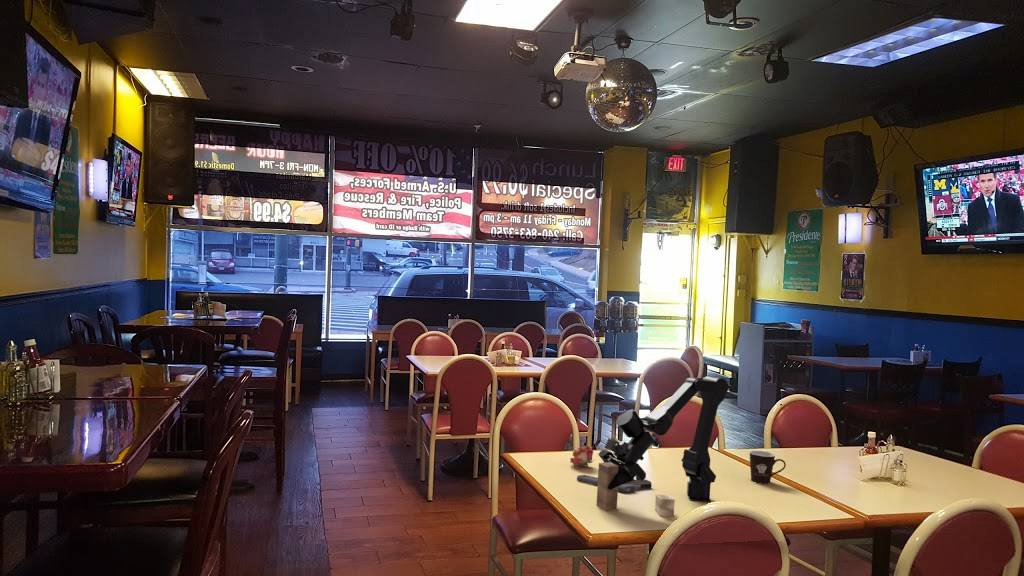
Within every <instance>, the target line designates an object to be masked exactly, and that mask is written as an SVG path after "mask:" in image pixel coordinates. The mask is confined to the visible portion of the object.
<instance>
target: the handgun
mask: <svg viewBox="0 0 1024 576" xmlns="http://www.w3.org/2000/svg"><path fill="white" fill-rule="evenodd" d="M577 480H578V482H581V481H583V482H582V483H585V482H587V483H586V484H589V483H590V484H589V485H593V484H594V486H597V485H598V476H597V477H595V476H591V475H588V474H580V475H577V476H576V481H577ZM651 488H652V481H650V480H648V479H646V478H645V479H644V481H643V482H640V481H638V480H636V479H635V481H631V482H628V483H625V484H622V485H620V486H618V492H622V493H625V494H627V493H631V492H633V493H635V492H636V490H645V489H651Z"/></svg>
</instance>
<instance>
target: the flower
mask: <svg viewBox="0 0 1024 576" xmlns="http://www.w3.org/2000/svg"><path fill="white" fill-rule="evenodd" d="M593 454H594V449H593V446H591V447H590V446H588V445H583V446H582V447H579V448H577V449H574V451H572V457H570V461H569V462H570V463H572V465H573V466H574V465H575V466H574V467H582V466H585V467H586V469H589V468H590V466H589V464H592V463H593V462H594V460H593Z"/></svg>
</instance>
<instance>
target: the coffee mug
mask: <svg viewBox="0 0 1024 576" xmlns="http://www.w3.org/2000/svg"><path fill="white" fill-rule="evenodd" d="M775 458H776V455H775V453H772V452H769V451H763V450H750V451H749V465H750V469H749V470H750V481H751V482H752V481H753V483H754V482H756V483H755V484H758V483H761V484H760V485H769V484H768V483H770V484H771V479H772V477H773V476H774V475H776V474H778V473H780V472H782V471H783V470H784V469H785V468H786V466H787V465H786V461H784V460H783V459H781V458H777V459H775ZM778 461H779V462H782V463H783V464H784V465H783V467H782V468H781V469H779V470H777V471H775V472H773V469H774V465H775V464H776V463H777V462H778Z"/></svg>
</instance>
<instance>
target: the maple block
mask: <svg viewBox="0 0 1024 576" xmlns="http://www.w3.org/2000/svg"><path fill="white" fill-rule="evenodd" d="M675 500H676V499H675V498H674V497H673V496H671V495H670V494H655V505H654V506H655V507H654V512H655V511H656V512H655V513H656V514H657V516H659V517H675Z"/></svg>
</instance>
